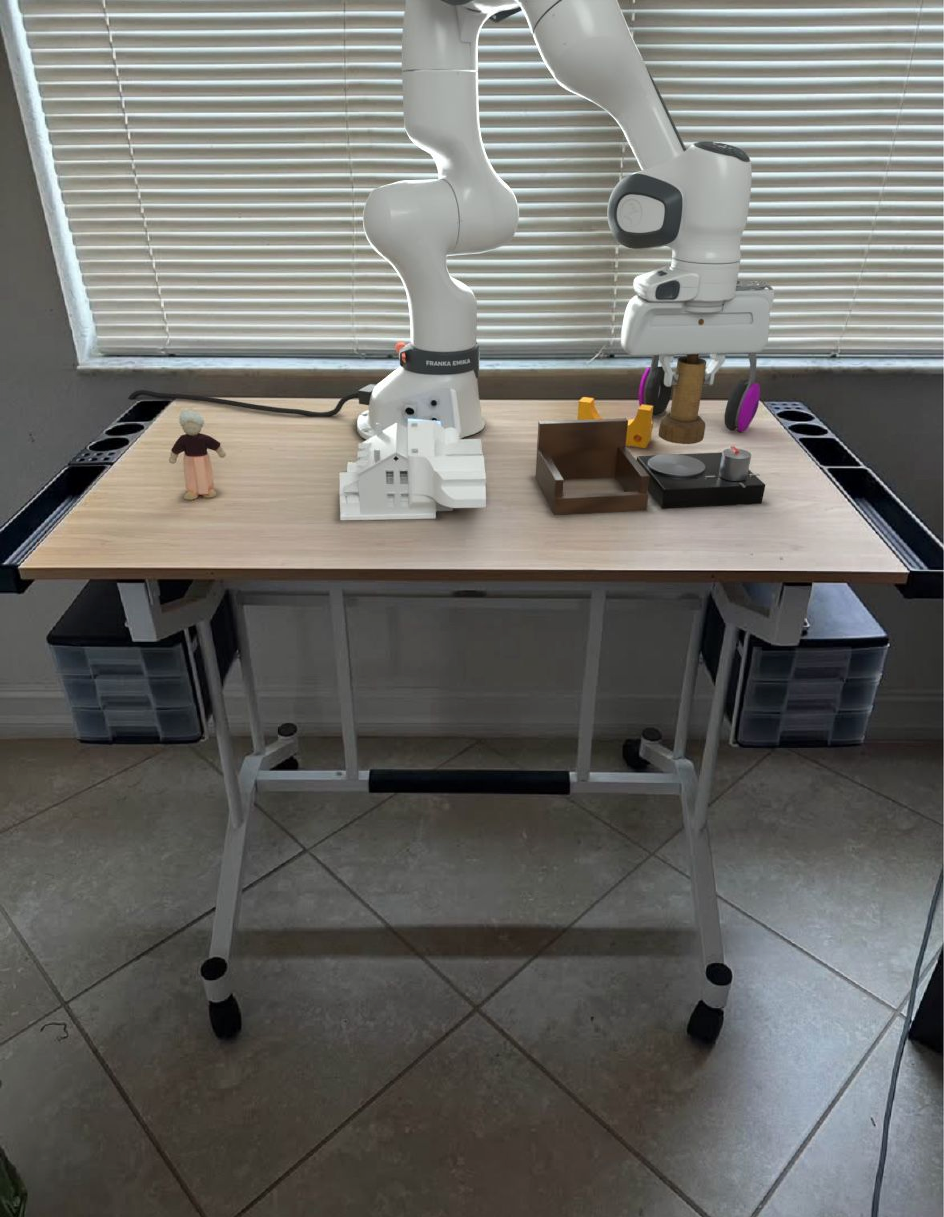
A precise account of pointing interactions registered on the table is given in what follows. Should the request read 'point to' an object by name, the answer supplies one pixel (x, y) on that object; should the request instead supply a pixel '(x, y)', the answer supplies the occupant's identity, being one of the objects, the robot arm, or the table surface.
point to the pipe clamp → (637, 427)
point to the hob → (702, 486)
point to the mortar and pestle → (685, 403)
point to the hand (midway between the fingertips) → (687, 385)
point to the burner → (676, 465)
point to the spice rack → (589, 465)
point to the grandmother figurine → (196, 455)
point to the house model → (413, 474)
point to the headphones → (738, 405)
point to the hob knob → (734, 464)
